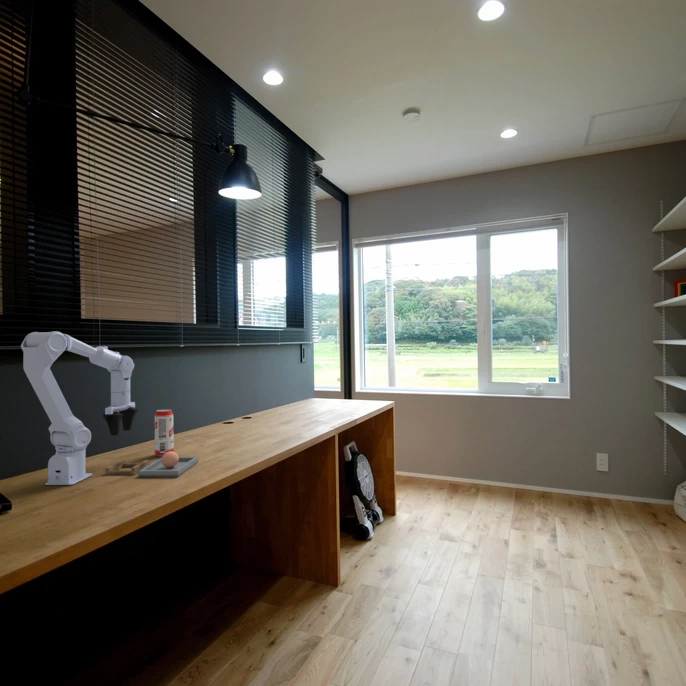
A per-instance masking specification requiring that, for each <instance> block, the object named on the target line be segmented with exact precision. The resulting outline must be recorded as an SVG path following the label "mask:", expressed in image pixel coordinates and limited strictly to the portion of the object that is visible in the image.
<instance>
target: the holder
mask: <svg viewBox="0 0 686 686" xmlns="http://www.w3.org/2000/svg"><path fill="white" fill-rule="evenodd" d="M148 465H150V460H148V459H145V460H143V461H142V462H138V463H137V462H132V463H131V462H126V461H125V459H122V460H120V461H117V462H115V463H113V464H111V465H109V466H107V467H105V468H104V469H105V472H104V473H105V475H106V476H109V475H110V476H112V475H116V476H117V475H118V476H119V475H120V476H123V475H125V476H126V475H127V476H128V475H129V476H131V475H132V476H134V475H136V474H139V471H140V470H141V469H143V468H145V467H146V466H148ZM123 468H130V470H126V469H125V470H124V469H123ZM121 469H123V470H121Z"/></svg>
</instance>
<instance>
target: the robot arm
mask: <svg viewBox="0 0 686 686" xmlns="http://www.w3.org/2000/svg"><path fill="white" fill-rule="evenodd" d="M20 348H21V350H22V352H23V358H22V360H23V362H22V363H23V365H22V366H23V367H22V368H23V371H24V373H25V375H26V377H27V378H28V381H29V383H30V384H31V386H32V388H33V391H34V392H35V394H36V396H37V397H38V400H39V402H40V404H41V405H42V407H43V409H44V411H45V413H46V414H47V417H48V418H49V421H50V422H51V424H50V426H49V427H48V431H49V433H50V442H51V444H52V445H53V446H54V447H55V448H54V449H55V450H56V451H55V454H54V455H52V456H50V458H49V459H48V463H47V481H46V482H45V483H44V484H45V485H46V486H73V485H76V484H77V483H79V482H81V481H83V480H85V479H87V478H89V477H91V476H93V473H92V472H91V473H88V472H86V467H87V466H86V465H87V464H86V449H88V447H87V446H88V445H89V444H90V443H91V440H92V432H91V431H90V429H89V428H88V427H86V426H85V425H84V423H83V422H82V421H81V420H80V419H79V418H77V417H76V416H75V415H74V414H73V412H72V410H71V409H70V406H69V404H68V403H67V400H66V399H65V396H64V395H63V392H62V391H61V388H60V387H59V384H58V382H57V380H56V378H55V376H54V375H53V371H52V370H51V367H52V365H53V363H54V362H55V361H56V360H57V359H58V358H59V357H60V356H61V355H62V354H63V353H64V352H65V351H68V352H71V353H74V354H77V355H80V356H83V357H86V358H88V359H89V362H90V363H91V364H94V365H96V366H99V367H102V368H104V369H107V371H108V372H109V373H110V405H109V406H108V407H106V408H104V411H105V413H103V414H102V418H103V419H104V420H105V423H106V425H107V426H108V430H109V433H110V436H119V433H120V425H121V423H122V428H123V429H122V430H123V431H126V432H127V431H132V426H133V423H134V419H135V416H136V414H137V412H138V408H136V401H131V377H132V374H133V373H132V372H133V370H134V368H135V363H134V361H133V359H132V358H131V357H130V356H128V355H122V354H120V351H119V352H118V351H113V350H111V349H110V350H109V349H108V348H109V347H108V346H106V345H101V346H96V347H93V346H92V345H89V344H87V343H84V342H83V341H81V340H78V339H77V338H74V337H72V336H71V335H69V334H66V333H62V332H61V331H57V330H56V331H48V332H47V331H46V332H39V331H33V332H30V333H28V334H27V335H26V336H25V337H24V339H23V341H22V343H21V345H20Z"/></svg>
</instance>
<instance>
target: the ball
mask: <svg viewBox="0 0 686 686" xmlns="http://www.w3.org/2000/svg"><path fill="white" fill-rule="evenodd" d="M179 457H180V456H179V455H178V454H177V453H176V451H174V452H173V451H169V452H167V453H165V454H164V455H163V457H161V458H162V464H163V465H164V466H165V467H167V468H171V467H174V466H175V465H176V464H177V463H178V460H179Z"/></svg>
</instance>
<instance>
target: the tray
mask: <svg viewBox="0 0 686 686" xmlns="http://www.w3.org/2000/svg"><path fill="white" fill-rule="evenodd" d="M178 457H179V460H178V463H177V464H176V465H175V466H174V467H171V468H167V467H165V466H164V465H163V464H162V457H160V458H159V459H157V460H155V461H154V462H152V463H149V465H148V466H146V467H145V468H143V469H141V470H140V471H139V472H138V478H179V477H181V476H182V475H183V474H184V473H186V472H188V470H190V469H191V468H192V467H194V466H195V465H196V464H198V463H199V456H178Z"/></svg>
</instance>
